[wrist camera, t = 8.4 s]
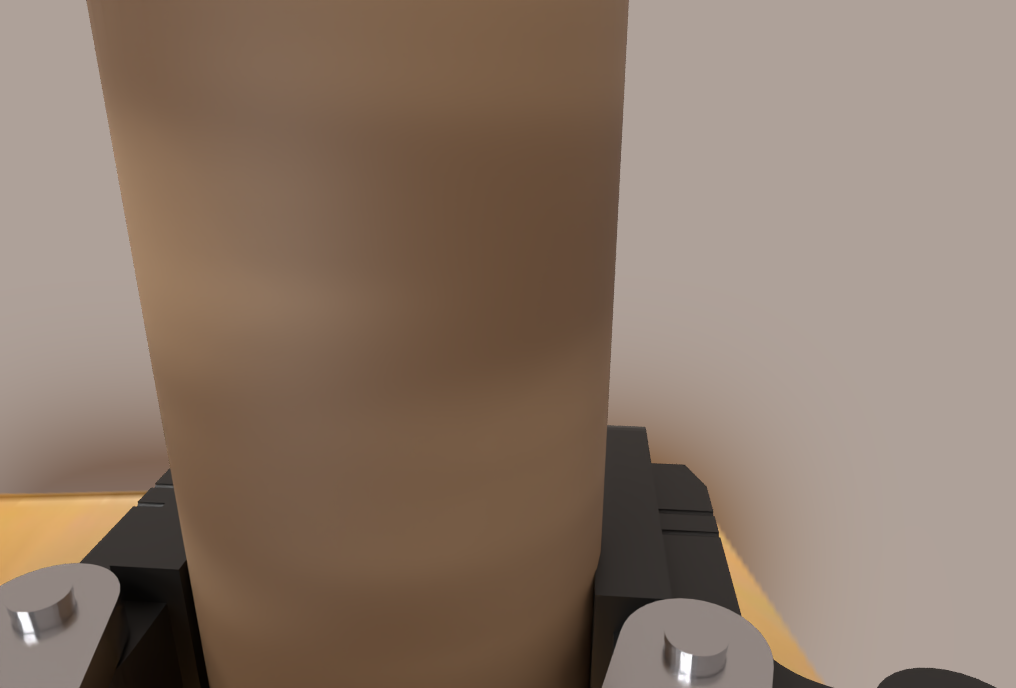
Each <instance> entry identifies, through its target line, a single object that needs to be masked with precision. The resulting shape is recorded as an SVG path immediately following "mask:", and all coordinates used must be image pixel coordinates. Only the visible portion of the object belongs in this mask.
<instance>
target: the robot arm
mask: <svg viewBox="0 0 1016 688" xmlns="http://www.w3.org/2000/svg"><path fill="white" fill-rule="evenodd" d="M0 688H210V687H209V681H208V676H207V670H206V665H205V659H204V653H203V648H202V642H201V637H200V631H199V625H198V620H197V614H196V609H195V603H194V598H193V592H192V586H191V581H190V575H189V570H188V564H187V559H186V553H185V547H184V542H183V536H182V531H181V525H180V519H179V514H178V508H177V503H176V497H175V492H174V486H173V480H172V475H171V469H169V470H168V471H167V472H166V473H165V474H164V475H163V476H162V477H161V478H160V479H159V480H158V481H157V482H156V486H155V488H151V489H150V490H149V491H148V492H147V493H146V494H145V495H144V496H143V497H142V498H141V499H140V500H139V501H138V506H137V507H135V506H133V507H132V508H131V509H130V511H129V512H128V513H127V514H126V515H125V516H124V517H123V518H122V519H121V520H120V521H119V522H118V523H117V524H116V525H115V526H114V527H113V528H112V529H111V530H110V531H109V532H108V534H107V535H106V536H105V537H104V538H103V539H102V540H101V541H100V542H99V543H98V544H97V545H96V546H95V547H94V548H93V549H92V550H91V551H90V552H89V553H88V554H87V556H86V557H85V558H84V559H83V560H82V561H81V562H80V563H73V564H62V565H56V566H51V567H47V568H42V569H39V570H36V571H33V572H30V573H27V574H24V575H22V576H19V577H17V578H15V579H13V580H11V581H9V582H7V583H5V584H3V585H1V586H0ZM589 688H833V687H829V686H826V685H823V684H820V683H817V682H815V681H812V680H809V679H807V678H804V677H802V676H800V675H798V674H796V673H794V672H792V671H790V670H789V669H787V668H785V667H784V666H782V665H780V664H779V663H778V662H776V661H775V660H774V659H773V656H772V653H771V649H770V647H769V645H768V643H767V642H766V640H765V638H764V637H763V636H762V635H761V633H760V632H759V631H758V630H757V629H756V628H755V627H754V626H753V625H752V624H751V623H750V622H748V621H747V620H745V619H744V618H743V617H742V616H741V613H740V609H739V605H738V601H737V598H736V594H735V590H734V587H733V583H732V579H731V576H730V572H729V568H728V564H727V561H726V557H725V553H724V550H723V546H722V542H721V538H719V531H718V527H717V524H716V520H715V516H713V509H712V505H711V501H710V498H709V494H708V490H707V487H706V486H705V485H704V484H703V483H702V482H701V481H700V480H699V479H698V478H697V477H696V476H695V475H694V474H693V473H692V472H691V471H690V470H689V469H688V468H687V467H686V466H685V465H677V464H655V463H651V459H650V452H649V447H648V440H647V433H646V428H645V427H635V426H611V425H607V438H606V458H605V477H604V497H603V517H602V536H601V553H600V557H599V561H598V566H597V569H596V571H595V578H594V599H593V620H592V641H591V662H590V682H589ZM877 688H996V687H994V686H992V685H990V684H988V683H985V682H983V681H981V680H979V679H976V678H973V677H970V676H967V675H964V674H961V673H957V672H953V671H949V670H942V669H935V668H913V669H906V670H902V671H899V672H896V673H894V674H892V675H890V676H888V677H887V678H885V679H884V680H883V681H882V682H881V683H880V684H879V686H878V687H877Z"/></svg>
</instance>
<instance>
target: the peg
mask: <svg viewBox="0 0 1016 688" xmlns="http://www.w3.org/2000/svg"><path fill="white" fill-rule="evenodd" d="M86 1H87V6H88V11H89V17H90V23H91V28H92V34H93V40H94V45H95V51H96V56H97V62H98V67H99V73H100V79H101V84H102V89H103V95H104V101H105V107H106V112H107V118H108V123H109V128H110V135H111V140H112V145H113V151H114V157H115V162H116V168H117V173H118V179H119V185H120V190H121V195H122V201H123V207H124V213H125V218H126V224H127V229H128V235H129V241H130V246H131V252H132V257H133V263H134V268H135V274H136V280H137V285H138V290H139V296H140V302H141V307H142V313H143V318H144V324H145V330H146V335H147V341H148V347H149V352H150V357H151V363H152V369H153V374H154V380H155V385H156V391H157V396H158V402H159V407H160V413H161V419H162V424H163V430H164V435H165V441H166V447H167V453H168V458H169V464H170V469H171V475H172V480H173V486H174V492H175V497H176V503H177V508H178V514H179V519H180V525H181V531H182V536H183V542H184V547H185V553H186V559H187V564H188V570H189V575H190V581H191V586H192V592H193V598H194V603H195V609H196V614H197V620H198V625H199V631H200V637H201V642H202V648H203V653H204V659H205V665H206V670H207V676H208V681H209V687H210V688H589V682H590V662H591V641H592V620H593V599H594V578H595V571H596V569H597V566H598V561H599V557H600V553H601V536H602V517H603V497H604V477H605V458H606V438H607V418H608V399H609V379H610V358H611V338H612V320H613V299H614V280H615V260H616V240H617V220H618V202H619V201H618V200H619V182H620V162H621V143H622V141H621V140H622V123H623V102H624V83H625V64H626V63H625V62H626V44H627V24H628V3H629V0H86Z"/></svg>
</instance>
